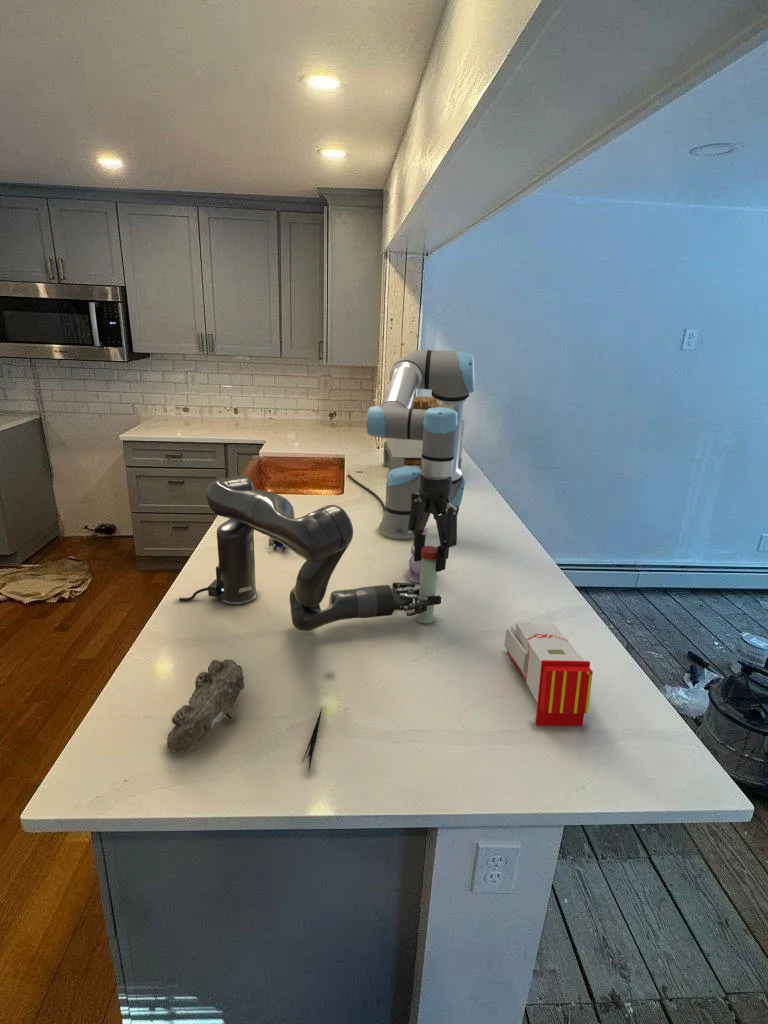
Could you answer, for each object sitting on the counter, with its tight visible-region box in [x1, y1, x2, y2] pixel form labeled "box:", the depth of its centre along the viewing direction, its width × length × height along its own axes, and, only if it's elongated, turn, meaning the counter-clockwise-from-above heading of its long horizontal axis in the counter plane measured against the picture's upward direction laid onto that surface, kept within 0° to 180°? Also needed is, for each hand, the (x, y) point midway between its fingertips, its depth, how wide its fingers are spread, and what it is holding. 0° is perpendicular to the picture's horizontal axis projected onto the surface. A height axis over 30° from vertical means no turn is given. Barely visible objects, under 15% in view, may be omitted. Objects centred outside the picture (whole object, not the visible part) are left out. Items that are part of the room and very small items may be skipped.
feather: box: [301, 673, 332, 771], centre depth 108 cm, size 2×28×2 cm
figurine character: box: [268, 536, 288, 552], centre depth 185 cm, size 7×8×15 cm
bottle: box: [416, 558, 438, 624], centre depth 142 cm, size 4×4×19 cm
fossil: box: [166, 658, 245, 754], centre depth 106 cm, size 22×10×15 cm
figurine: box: [407, 527, 430, 584], centre depth 166 cm, size 9×10×15 cm
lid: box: [421, 545, 437, 560], centre depth 139 cm, size 5×5×2 cm
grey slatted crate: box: [383, 395, 465, 472], centre depth 268 cm, size 34×33×41 cm
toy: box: [503, 622, 594, 727], centre depth 121 cm, size 12×13×30 cm
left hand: (437, 595), depth 144 cm, fingers closed on bottle, 4 cm apart
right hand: (429, 564), depth 140 cm, fingers open, 7 cm apart
